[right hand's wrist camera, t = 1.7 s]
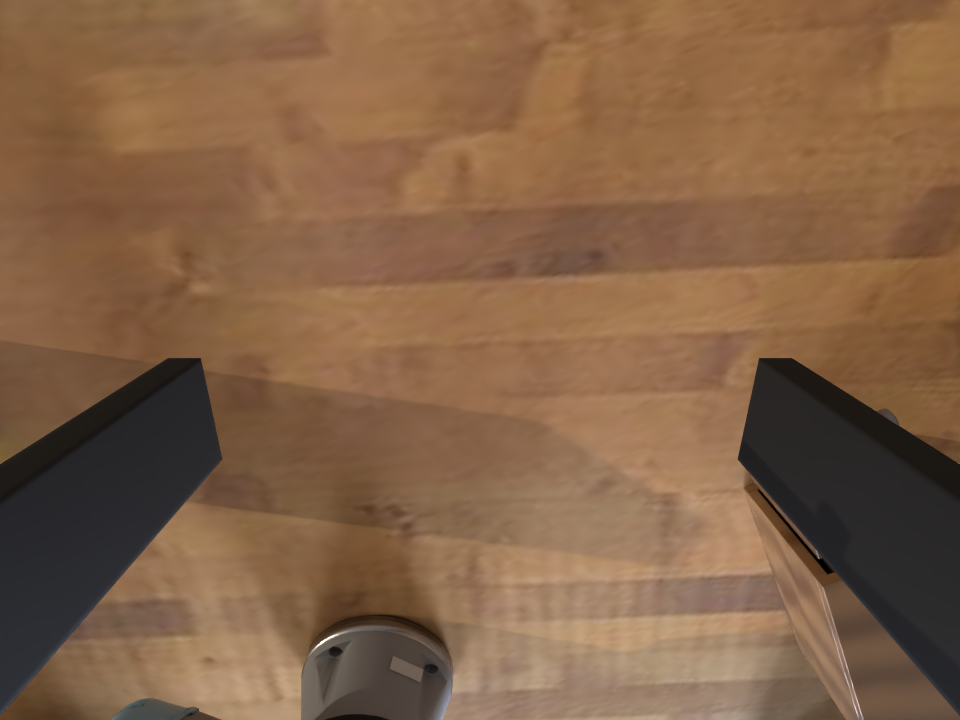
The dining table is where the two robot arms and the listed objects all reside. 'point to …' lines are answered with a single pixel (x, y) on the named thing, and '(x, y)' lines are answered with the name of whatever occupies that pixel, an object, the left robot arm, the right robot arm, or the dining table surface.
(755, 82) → the dining table surface
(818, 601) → the cabinet
